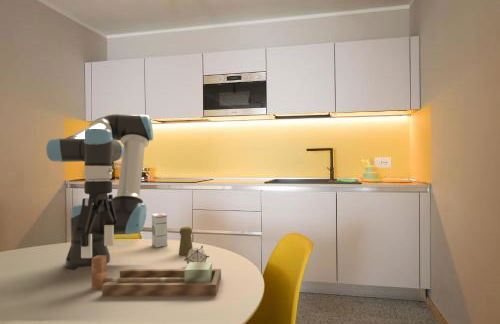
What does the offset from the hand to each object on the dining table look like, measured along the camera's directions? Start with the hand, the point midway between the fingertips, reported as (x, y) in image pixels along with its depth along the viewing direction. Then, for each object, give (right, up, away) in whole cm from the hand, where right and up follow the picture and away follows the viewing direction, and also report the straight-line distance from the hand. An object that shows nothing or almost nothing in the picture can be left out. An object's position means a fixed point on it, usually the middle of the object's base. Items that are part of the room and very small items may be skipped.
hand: (98, 251), depth 94 cm
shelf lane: (+20, -12, 0) cm, 23 cm away
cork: (+18, -12, +38) cm, 44 cm away
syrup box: (+4, -12, +51) cm, 53 cm away
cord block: (+16, -11, 0) cm, 19 cm away
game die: (+26, -12, +18) cm, 34 cm away
